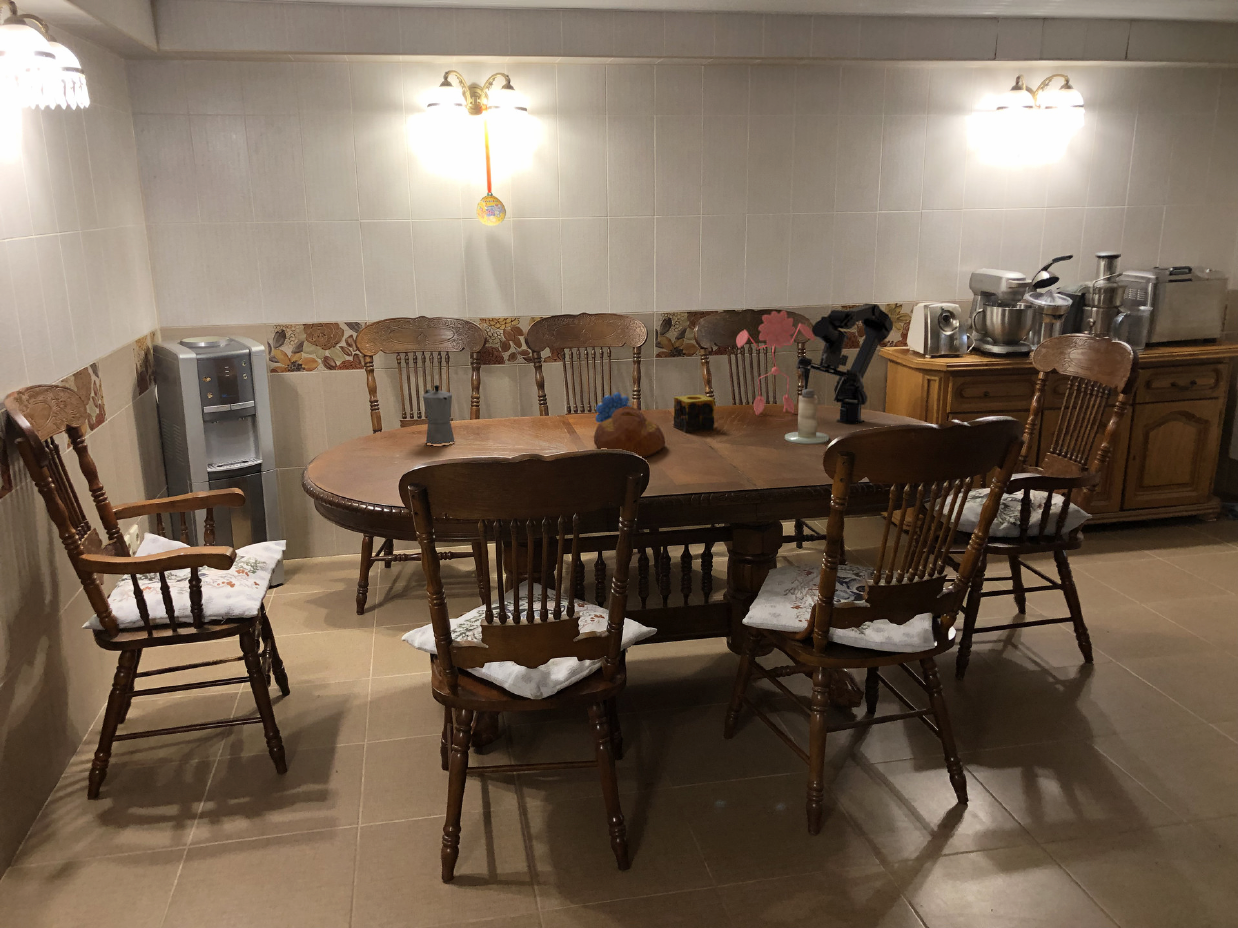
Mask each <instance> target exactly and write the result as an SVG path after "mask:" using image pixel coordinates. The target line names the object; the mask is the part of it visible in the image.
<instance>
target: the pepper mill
mask: <svg viewBox="0 0 1238 928" xmlns="http://www.w3.org/2000/svg"><path fill="white" fill-rule="evenodd" d="M797 411H798V412H797V413H798V415H797V432H798V437H801V438H815V437H816V432H817V427H818V424H817V423H818V422H817V421H818V396H817V395H815V389H811V388H810V389H809V388H807V389H804V388H803V389H802V391H801V395H799V396H798V410H797Z"/></svg>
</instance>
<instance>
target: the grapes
mask: <svg viewBox="0 0 1238 928" xmlns="http://www.w3.org/2000/svg"><path fill="white" fill-rule="evenodd" d="M629 402H630V399H629V397H628V396H627V395H624V396H622V394H621V393H620V392H614V393H613V394H612V396H611V395H608V394H607V395H605V396H604V397H603V398H602V403H599V404H597V405H596V408H595V412H597V413H598V414H596V416H595V421H596V423H599V424H600V423H601V422H603V421H605V420H607V419H610V418H612V415H613V413H614V412H615V411H616V410H617V409H619V408H622V407H626V406H630V407H632V406H631V405H630V404H629Z"/></svg>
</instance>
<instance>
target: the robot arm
mask: <svg viewBox="0 0 1238 928" xmlns="http://www.w3.org/2000/svg"><path fill="white" fill-rule="evenodd" d="M858 322H861V324H862V325H863V331H864V338H863V341H862V343H861V344H860V347H859V349H858V351H857V353H856V355H855V358H854V360H853V362H852V364H851V367H850V368H849V369H847V368H846V369H845V371H843V370H839V368H840V366H842V367H846V365H847V363H848V360H849V355H846V354H842V353H843V350H844V347H845V342H846V341H849V338H850V337H849V335H848V334H847V331H844V330H851V329H852V328H854V327H855V326H856V323H858ZM893 328H894V323H893V321H892V319H891V316H890V315H889V314H888V313H887V312H886V311H885V310H882V309H881V307H880V305H878V304H876V303H864V304H862V305H858V306H856V307H852V308H849V309H831V311H830V313H828V314H827V316H821V317H820V319H819V320H817V321H816V322H814V325H812V329H811V331H812V333H813V334H814V337H816V339H818V340H820V341H821V342H822V343H824V344H823V349H822V353H821V356H820V360H819V363H815V362H813V359H812V358H808V357H806V356H805V357H804V356H800V357H798V359H797V360H796V361H797V362H796V364H795V369H797V370H798V373H801V376H802V380H803V390H804V389H808V386H809V382H810V381H809V380H810V374H811V370H814V371H817V372H821V373H824V374H829V375H831V376H835V377H838V379H837V381H836V384H835V386H834V388H833V389H834V391H833V392H834V397H833V402H835V403H840V408H839V418H838V419H836V422H840V423H844V424H849V425H854V424H859V423H863V422H865V419H862V418H861V417H862V406H865V405H866V403H867V401H868V395H867V393H866V391H865V390H864V389H865V385H864V377H865V375H866V373H867V370H868V368H869V367H870V364H871V362H872V360H873V357H874V356H875V353H876V351H877V349H878V347H879V344H881V343H882V342H884V341H885V340H886V339H888V337H889V335H890V333H891V332H892V331H893ZM840 329H841V330H840Z"/></svg>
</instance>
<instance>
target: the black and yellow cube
mask: <svg viewBox="0 0 1238 928" xmlns="http://www.w3.org/2000/svg"><path fill="white" fill-rule="evenodd" d="M673 403H674V404H673V427H674V428H675V429H677V430H680V431H683V432H684V433H686V434H687V433H698V432H706V431H713V430H714V429H715V399H714V398H711V397H709V396H706V395H704V394H694V395H693V394H692V395H683V396H674V397H673Z"/></svg>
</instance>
